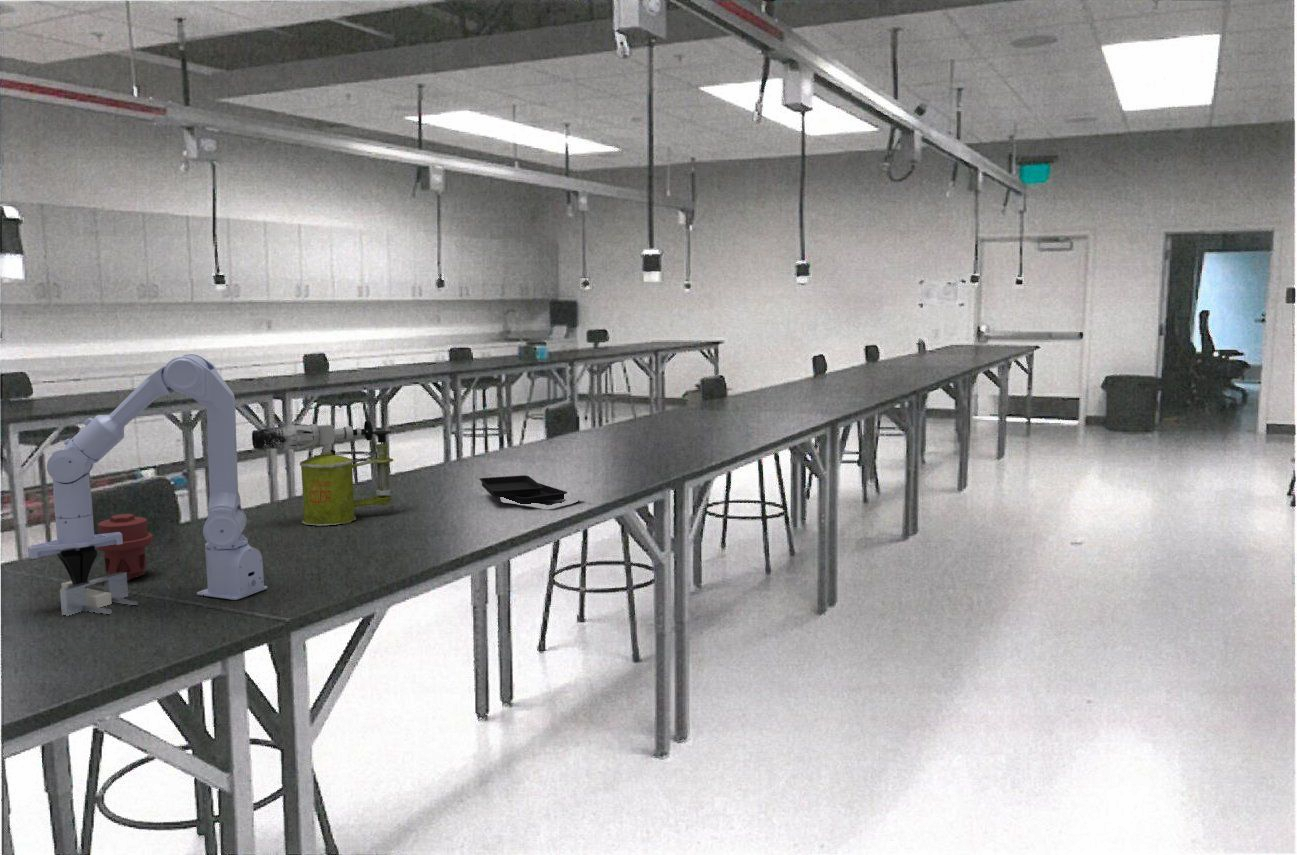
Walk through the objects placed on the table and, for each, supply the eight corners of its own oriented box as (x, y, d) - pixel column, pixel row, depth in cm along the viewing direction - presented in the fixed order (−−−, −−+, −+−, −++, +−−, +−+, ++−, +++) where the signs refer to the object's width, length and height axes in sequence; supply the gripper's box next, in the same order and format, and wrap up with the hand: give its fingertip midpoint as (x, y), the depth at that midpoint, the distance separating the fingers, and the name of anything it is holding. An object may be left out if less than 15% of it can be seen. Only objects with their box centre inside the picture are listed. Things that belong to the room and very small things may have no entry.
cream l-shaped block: (112, 604, 174) (111, 585, 174) (95, 609, 172) (94, 589, 171) (75, 597, 179) (74, 578, 178) (58, 602, 176) (57, 582, 176)
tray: (592, 499, 266) (592, 480, 266) (548, 516, 246) (547, 496, 245) (500, 490, 279) (499, 472, 279) (450, 506, 258) (449, 486, 258)
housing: (152, 600, 177) (150, 575, 176) (92, 620, 166) (90, 593, 165) (122, 596, 179) (120, 571, 179) (61, 615, 168) (59, 589, 168)
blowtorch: (403, 518, 244) (399, 417, 241) (264, 534, 227) (258, 427, 223) (387, 508, 255) (383, 413, 252) (253, 524, 238) (247, 421, 234)
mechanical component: (88, 579, 190) (141, 568, 198) (110, 588, 184) (164, 576, 192) (83, 516, 189) (137, 508, 197) (105, 524, 183) (160, 515, 190)
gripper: (33, 525, 165) (40, 603, 167) (126, 512, 175) (131, 586, 177) (21, 519, 170) (28, 595, 172) (112, 506, 180) (118, 578, 182)
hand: (80, 590), depth 175 cm, fingers closed
